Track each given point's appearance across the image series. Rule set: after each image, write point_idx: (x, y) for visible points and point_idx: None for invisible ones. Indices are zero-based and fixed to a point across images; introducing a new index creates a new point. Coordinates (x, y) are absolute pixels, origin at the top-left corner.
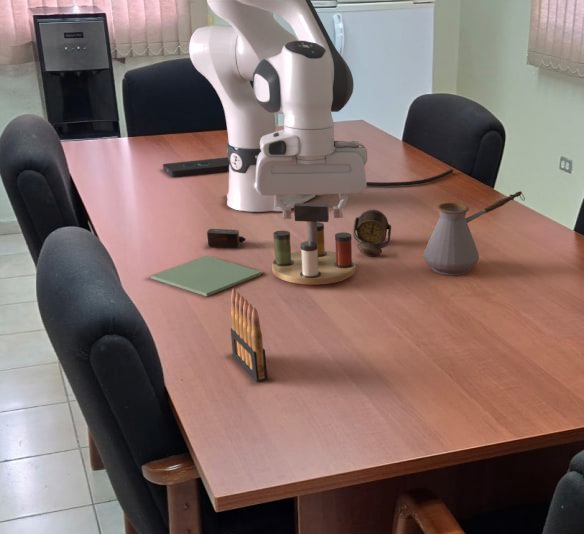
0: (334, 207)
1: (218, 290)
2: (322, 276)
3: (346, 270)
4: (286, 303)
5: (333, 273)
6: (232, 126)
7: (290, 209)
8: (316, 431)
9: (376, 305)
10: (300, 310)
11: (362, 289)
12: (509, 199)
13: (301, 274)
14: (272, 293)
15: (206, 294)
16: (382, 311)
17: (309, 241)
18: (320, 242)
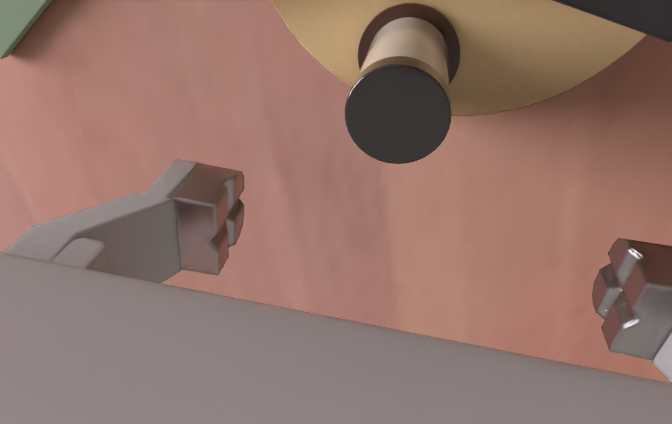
0: (636, 316)
1: (35, 20)
2: (456, 94)
3: (608, 43)
4: (285, 188)
5: (523, 69)
6: None
7: (213, 267)
8: None
9: (581, 286)
10: (322, 249)
11: (612, 142)
12: None
13: (363, 58)
14: (242, 86)
15: (2, 57)
16: (574, 327)
17: (412, 71)
18: None
